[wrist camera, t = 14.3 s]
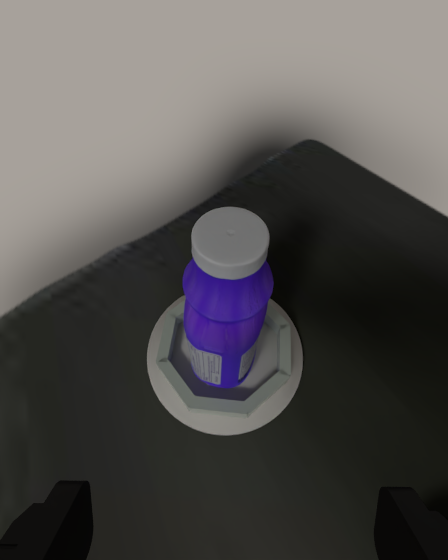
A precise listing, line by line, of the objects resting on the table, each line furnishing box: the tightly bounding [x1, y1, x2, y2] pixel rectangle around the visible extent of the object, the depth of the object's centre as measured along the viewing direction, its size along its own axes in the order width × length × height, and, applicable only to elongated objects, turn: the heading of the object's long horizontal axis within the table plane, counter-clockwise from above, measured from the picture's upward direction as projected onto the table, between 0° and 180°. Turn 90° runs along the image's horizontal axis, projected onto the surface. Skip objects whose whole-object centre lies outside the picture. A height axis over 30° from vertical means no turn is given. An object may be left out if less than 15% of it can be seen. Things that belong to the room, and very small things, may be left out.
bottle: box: [183, 207, 274, 388], centre depth 24 cm, size 7×6×17 cm
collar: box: [147, 295, 303, 436], centre depth 31 cm, size 15×15×2 cm
